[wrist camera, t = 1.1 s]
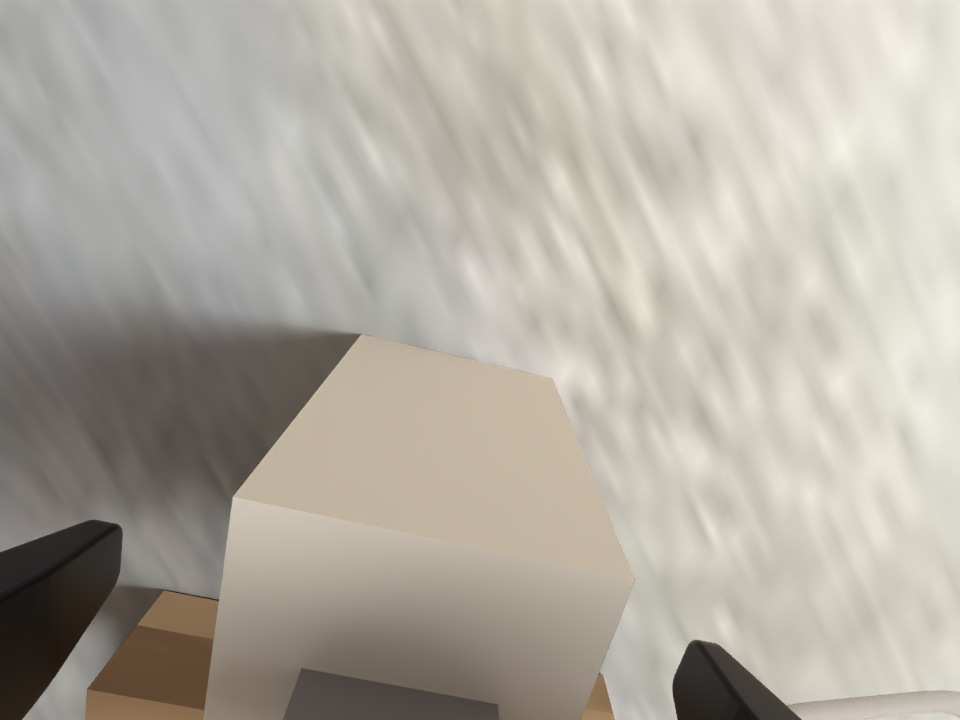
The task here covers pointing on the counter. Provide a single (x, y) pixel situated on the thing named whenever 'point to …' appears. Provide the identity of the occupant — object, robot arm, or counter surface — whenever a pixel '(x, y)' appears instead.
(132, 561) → the counter surface
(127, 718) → the board
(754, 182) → the counter surface
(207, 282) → the counter surface
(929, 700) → the hook
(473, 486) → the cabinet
